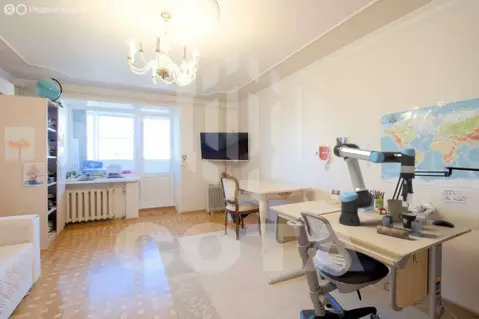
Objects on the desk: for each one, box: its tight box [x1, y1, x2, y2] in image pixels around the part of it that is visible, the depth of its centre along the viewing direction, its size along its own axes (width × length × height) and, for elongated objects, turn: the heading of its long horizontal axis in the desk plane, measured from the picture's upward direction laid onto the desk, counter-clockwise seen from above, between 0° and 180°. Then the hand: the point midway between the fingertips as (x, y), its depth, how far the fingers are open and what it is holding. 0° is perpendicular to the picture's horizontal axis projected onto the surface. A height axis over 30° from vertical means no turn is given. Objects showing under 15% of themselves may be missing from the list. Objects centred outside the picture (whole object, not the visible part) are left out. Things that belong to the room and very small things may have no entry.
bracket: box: [381, 214, 424, 238], centre depth 159 cm, size 22×8×9 cm, turn 41°
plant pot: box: [386, 198, 410, 223], centre depth 186 cm, size 15×15×16 cm
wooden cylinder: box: [376, 225, 410, 240], centre depth 152 cm, size 17×5×5 cm, turn 41°
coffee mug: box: [399, 212, 417, 230], centre depth 169 cm, size 12×9×10 cm
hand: (407, 204), depth 152 cm, fingers open, 13 cm apart
